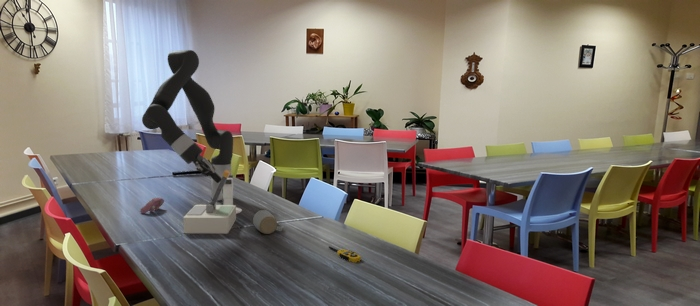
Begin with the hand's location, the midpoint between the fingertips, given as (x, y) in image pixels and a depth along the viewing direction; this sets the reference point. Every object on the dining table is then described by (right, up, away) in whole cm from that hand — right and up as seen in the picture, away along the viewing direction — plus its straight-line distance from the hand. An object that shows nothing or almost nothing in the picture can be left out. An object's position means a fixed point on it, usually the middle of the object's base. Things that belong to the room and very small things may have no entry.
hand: (220, 181), depth 168 cm
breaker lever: (-4, -11, +1) cm, 11 cm away
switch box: (-4, -18, +2) cm, 18 cm away
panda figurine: (-3, -15, +24) cm, 28 cm away
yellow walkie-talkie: (+48, -24, -22) cm, 58 cm away
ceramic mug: (+19, -19, -1) cm, 27 cm away
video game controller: (-35, -14, +19) cm, 42 cm away
